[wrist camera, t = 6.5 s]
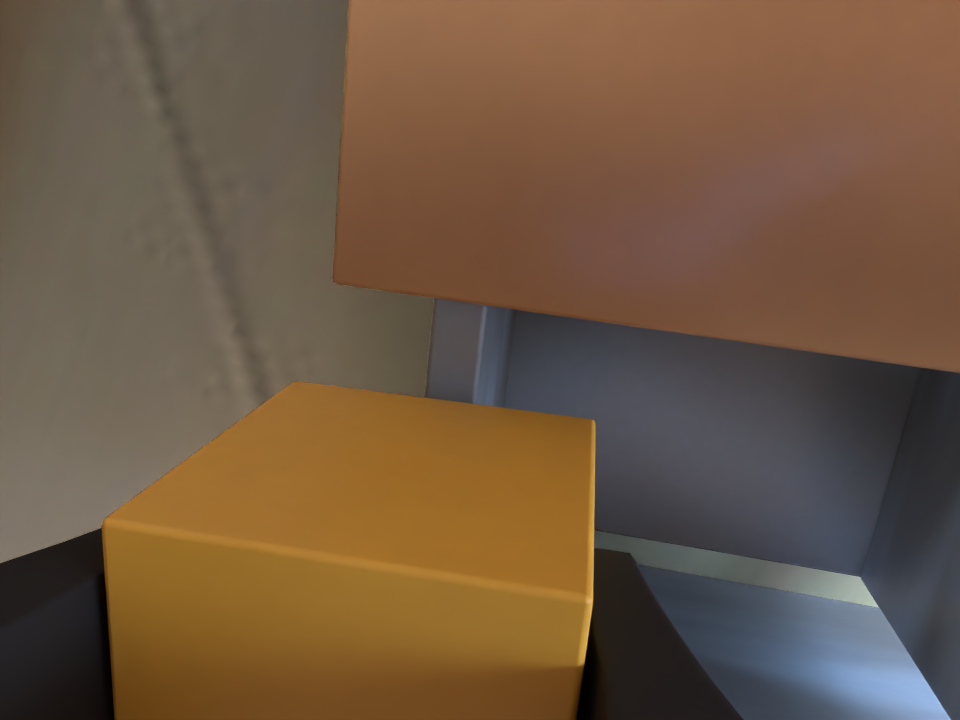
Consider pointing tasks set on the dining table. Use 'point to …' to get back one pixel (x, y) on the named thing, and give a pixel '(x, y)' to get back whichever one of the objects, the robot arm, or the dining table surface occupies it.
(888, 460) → the grey wooden drawer
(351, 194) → the wooden drawer box
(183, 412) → the dining table surface
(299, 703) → the block
